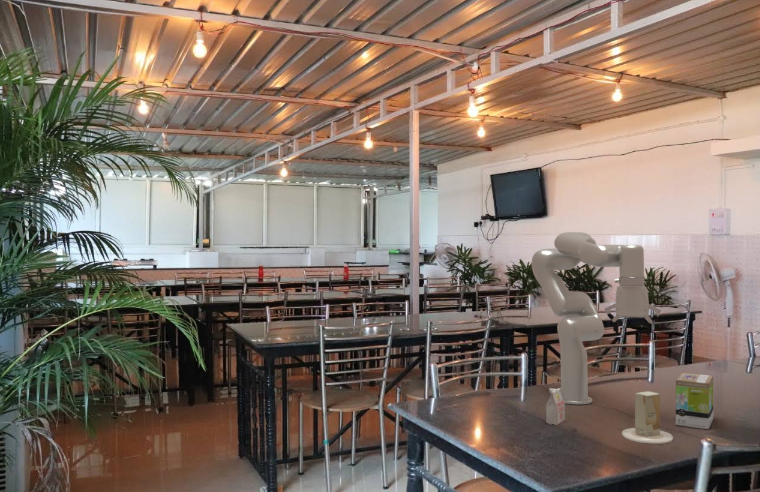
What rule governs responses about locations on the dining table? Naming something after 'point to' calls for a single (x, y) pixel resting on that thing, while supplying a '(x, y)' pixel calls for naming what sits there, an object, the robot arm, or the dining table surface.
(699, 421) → the tea box
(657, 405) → the skincare box
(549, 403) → the white milk carton
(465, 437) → the dining table surface
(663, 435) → the saucer
